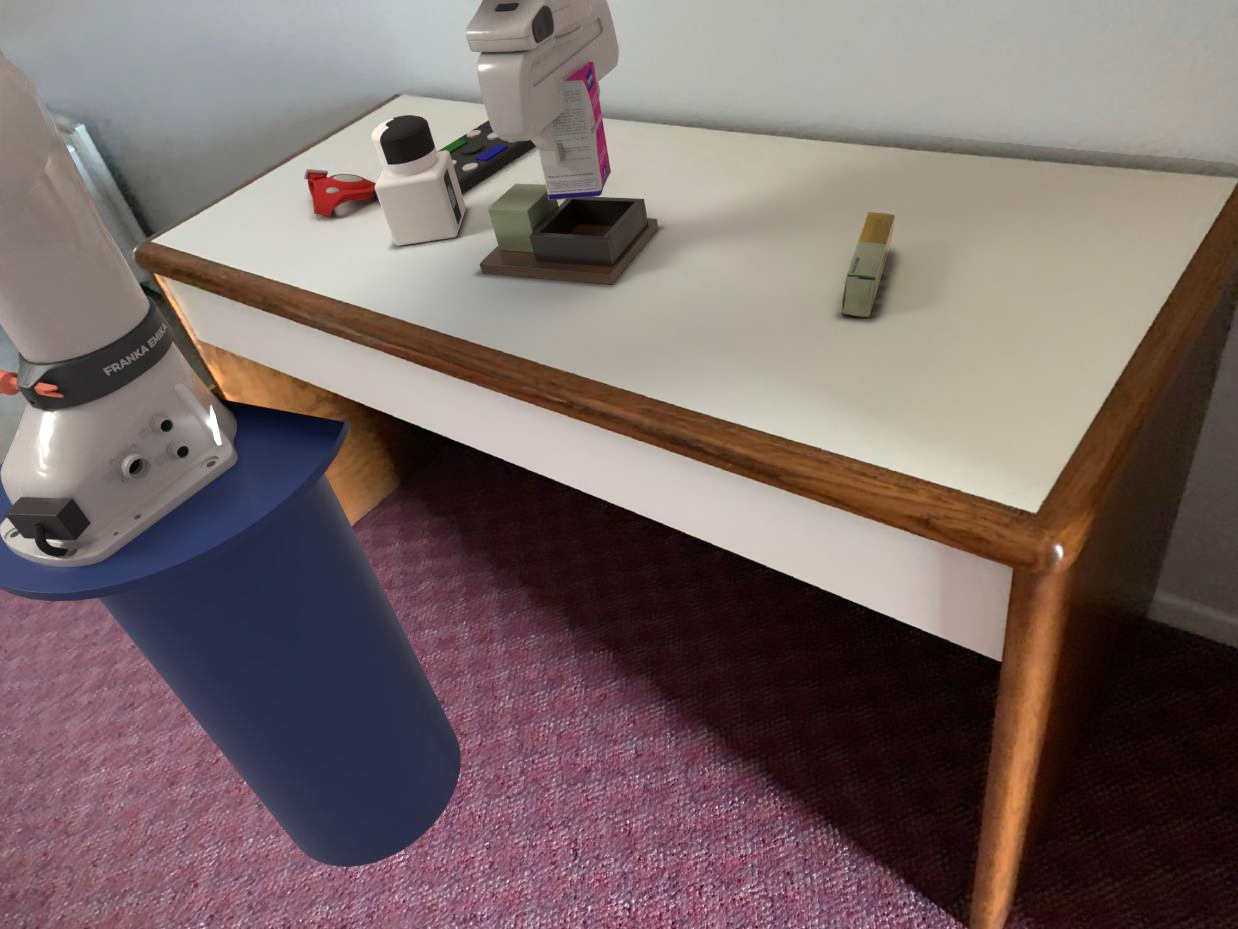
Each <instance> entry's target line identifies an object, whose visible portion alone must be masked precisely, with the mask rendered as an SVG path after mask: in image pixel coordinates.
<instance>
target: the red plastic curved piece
mask: <svg viewBox="0 0 1238 929" xmlns="http://www.w3.org/2000/svg"><path fill="white" fill-rule="evenodd" d="M328 174H329V171H328V170H324V169H313V168H305V171H304V176H303V179H304V180H307V185H308V190H309V193H310V196H311V198H312V205H313V213H314V214H316V215H321V216H324V217H325V216H326V217H331V215H332V213H333V211H334V209H335V207H336V208H337V207H338V206H340V205H342V204H344V203H346V202H353V201H361V200H362V201H363V200H369V199H374V198H376V197H375V195H374V192H373V190H374V189H375V185H376V183H377V182H374V181H372V180H370V179H367V178H364V177H363V176H360V175H357V174H349V173H339V174H334V175H330V176H328Z"/></svg>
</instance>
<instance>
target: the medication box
mask: <svg viewBox="0 0 1238 929" xmlns="http://www.w3.org/2000/svg"><path fill="white" fill-rule="evenodd" d="M895 217H896V215H895V214H891V213H885V212H875V211H868V212H867V214H866V217H865V220H864V222H863V226H862V229H861V231H860V235H859V238H858V241H857V244H856V247H855V249H854V253H853V256H852V258H851V262H850V265H849V267H848V270H847V274H846V277H845V282H844V287H843V288H844V290H843V296H842V303H841V305H842V306H841V315H844V316H848V317H854V318H859V319H860V318H861V319H865V318H866V319H869V318H870V317H871V313H872V309H873V306H874V302H875V300H876V296H877V294H878V293H877V292H878V289H879V285H880V282H881V278H882V275H883V272H884V269H885V265H886V262H887V258H888V256H889V251H890V247H891V243H892V240H893V233H894V226H895V219H896V218H895Z"/></svg>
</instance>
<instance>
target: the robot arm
mask: <svg viewBox="0 0 1238 929" xmlns="http://www.w3.org/2000/svg"><path fill="white" fill-rule="evenodd" d="M616 33H617V32H616V30H615V25H614V20H613V16H612V14H611V9H610V6H609V3H608V1H607V0H482V1H481V3H480V4H479V6H478V8H477V10H476V12H475V13H474V15H473V17H472V18H471V20H470V21H469V23H468V24H467V26H466V29H465V38H466V42H467V45H468V48H469V50H470V51H471V52H473V53H480V54H479V55H478V59H477V62H476V73H477V80H478V85H479V88H480V93H481V97H482V101H483V106H484V108H485V111H486V115H487V120H489V122H490V125H491V128H492V130H493V132H494V133H495V134H496V135H497V136H498V137H499V138H500V139H501V140H504V141H529V140H531V141H532V142H533V143H534V144H535V147H536V148H537V150H538V151H539V150H540V154H541V158H542V163H543V165H544V166H546V167H557V166H558V165H559V164H561V163H562V162H563V161H564V159H565V155H564V153H563V145H562V144H558V143H556V141H555V140H554V138H553V136H552V134H551V133H552V132H553V131H554V128H553V123H552V121H553V120H555V119H556V118H557V117H558V116H559V115H560V114H561V113H563V112H564V111H565V110H566V98H565V93H564V88H563V82H564V81H565V80H567V79H568V78H569V77H570V76H572V75H573V74H574V73H575V72H577V71H578V70H579V69H581V68H582V67H583V66H585V65H586V64H587V63H589V62H593V63H594V69H595V75H596V81H597V88H598V94H599V97H600V96H601V88H600V84H599V83H600V81H601V80H603V79H604V78H605V77H606V76H608V74H609V73H611V71H613V70H614V69H615V68H616V67H617V66H618V63H619V57H620V48H619V43H618V38H617V34H616ZM0 326H1V328H3V329H2V330H4V332H5V333H6V335H7V336H8V338H9V339H10V341H11V342H12V344H13V345H14V347H16V349H17V350H18V363H19V368H18V372H13V371H8V370H4V369H0V394H4V395H6V396H15V395H17V394H19V393H21V395H22V396H23V397H24V398H25V400H26V402H27V404H26V406H25V409H24V412H23V414H22V417H21V420H20V422H19V425H18V427H17V430H16V432H15V435H14V436H13V440H12V442H11V443H10V447H9V450H8V451H7V454H6V456H5V459H4V460H3V462H4V463H3V462H2V463H3V465H2V467H1V480H2V484H3V487H4V489H5V492H6V494H7V496H8V498H9V500H10V502H11V504H12V506H11V507H10V508H9V509H8V510H7V512H6V513H5V514H4V515H5V516H6V517H7V518H6V519H5V520H4V521H3V522H2V524H1V525H0V534H1V537H2V539H3V540H4V542H5V543H6V545H7V546H8V548H9V549H10V550H11V551H13V552H14V553H15V554H17V555H18V556H20V557H22V558H24V559H27V560H30V561H32V562H35V563H39V564H43V565H47V566H53V567H81V566H87V565H92V564H96V563H100V562H102V561H104V560H105V559H107V558H108V557H110V556H111V555H113V554H114V553H115V552H117V551H118V550H119V549H121V548H122V547H124V546H125V545H126V544H128V543H129V542H130V541H132V540H133V539H134V538H136V537H137V536H139V535H140V534H141V533H143V532H144V531H145V530H147V529H148V528H149V527H151V526H152V525H154V524H155V523H156V522H158V521H159V520H160V519H162V518H163V517H164V516H166V515H167V514H168V513H170V512H171V511H173V510H174V509H175V508H177V507H178V506H179V505H181V504H182V503H183V502H185V501H186V500H188V499H189V498H190V497H192V496H193V495H194V494H196V493H197V492H198V491H200V490H201V489H202V488H204V487H205V486H207V485H208V484H209V483H211V482H212V481H213V480H215V479H216V478H217V477H219V476H220V475H222V474H223V473H224V472H226V471H227V470H228V469H230V468H231V467H232V466H233V465H234V464H235V463H236V462H237V460H238V454H237V451H236V449H235V447H234V439H235V435H236V432H237V420H236V417H235V415H234V414H233V413H232V412H231V411H230V410H229V409H228V408H227V407H226V406H225V405H224V404H222V403H221V402H220V401H219V400H218V399H219V398H218V399H217V397H216V395H215V394H214V393H213V392H212V391H211V390H210V389H209V388H208V386H207V385H206V384H205V383H204V381H203V380H202V379H201V378H200V376H199V375H198V374H197V373H196V372H195V370H194V368H192V366H191V365H190V364H189V362H188V361H187V359H186V358H185V356H184V355H183V354H182V352H181V351H180V349H179V348H178V342H177V339H176V336H175V334H174V331H173V330H172V328H171V326H170V325H169V323H168V320H166V317H165V316H164V313H163V312H162V311H161V310H160V308H159V306H158V305H157V303H156V301H155V299H153V298H152V297H150V296H148V295H146V294H145V292H144V290H143V288H142V286H141V285H140V283H139V281H138V279H137V277H136V276H135V274H134V272H133V270H132V269H131V267H130V265H129V263H128V261H126V259H125V257H124V255H123V253H122V251H121V249H120V248H119V246H118V245H117V243H116V241H115V239H114V237H113V236H112V234H111V232H110V230H109V229H108V227H107V224H106V223H105V221H104V219H103V217H102V215H101V214H100V212H99V210H98V207H97V205H96V203H95V201H94V198H93V197H92V195H91V192H90V190H89V188H88V186H87V184H86V182H85V180H84V178H83V176H82V174H81V172H80V170H79V168H78V166H77V164H76V162H75V160H74V158H73V156H72V154H71V152H70V150H69V148H68V147H67V144H66V142H65V140H64V139H63V136H62V134H61V133H60V130H59V128H58V127H57V125H56V123H55V121H54V120H53V117H52V116H51V113H50V112H49V110H48V108H47V106H46V105H45V103H44V101H43V99H42V97H41V95H40V93H39V92H38V90H37V88H36V86H34V84H33V82H32V81H31V79H30V78H28V76H27V75H26V74H25V73H24V72H23V71H22V70H21V69H20V68H19V67H18V66H17V65H16V64H15V63H13V62H12V61H10V60H9V59H8V58H7V57H6V54H4V52H3V51H2V48H1V47H0Z"/></svg>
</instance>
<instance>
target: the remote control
mask: <svg viewBox="0 0 1238 929" xmlns="http://www.w3.org/2000/svg"><path fill="white" fill-rule="evenodd" d="M535 147H536V146H535V144H534V143H533V142H532V141H531V140H529V141H504V140H501V139H500V138H499V137H498V136H497V135H496V134H495V133H494V132H493V130H492V128H491V125H490V122H489V119H487V120H486V121H485V122H483V123H482V124H480V125H478V126H476V127H475V128H474V129H471V130H470V131H468V132H467V133H465V134H464V135H462V136H460V137H459V138H457V139H455V140H454V141H452V142H451V143H449V144H447V145H446V146H444V147H443V148H441V149H439V150H436V151H437V152H439V151H445V150H447V151H449V153H450V156H451V159H452V163H453V166H454V169H455V173H456V176H457V180H458V183H459V186H460V190H461V193H462V195H463V194H465V193H466V192H468V191H469V190H471V189H473V188H474V187H475V186H477V185H478V184H480V183H482V182H483V181H485V180H486V179H488V178H489V177H490V176H492V175H493V174H495V173H496V172H498V171H499V170H501V169H502V168H504V167H506V166H507V165H509V164H511V163H512V162H513V161H515V160H517V159H518V158H519V157H521V156H523V155H524V154H525V153H527V152H528V151H530V150H532V149H533V148H535ZM373 192H374V195H375V197H374V198H375V200H376V201H377V202H379V199H378V196H377V193H376V190H375V189H374V190H373Z"/></svg>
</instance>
